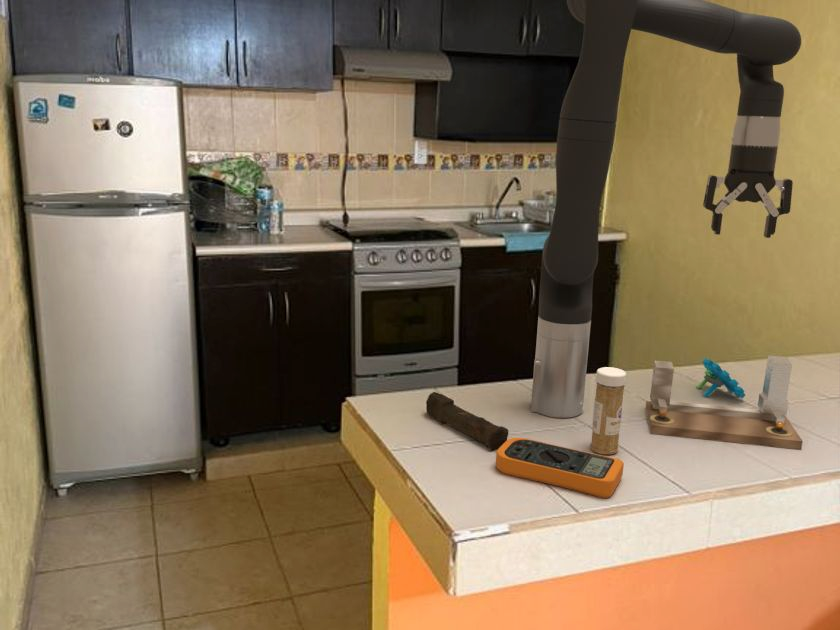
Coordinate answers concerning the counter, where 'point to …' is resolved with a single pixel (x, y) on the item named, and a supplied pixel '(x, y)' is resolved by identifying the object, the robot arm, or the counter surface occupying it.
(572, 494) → the counter surface
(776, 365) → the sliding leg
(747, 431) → the plate
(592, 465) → the multimeter
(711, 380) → the blue branching piece
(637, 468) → the counter surface
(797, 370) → the counter surface
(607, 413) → the sprinkles bottle
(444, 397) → the dark brown rod
